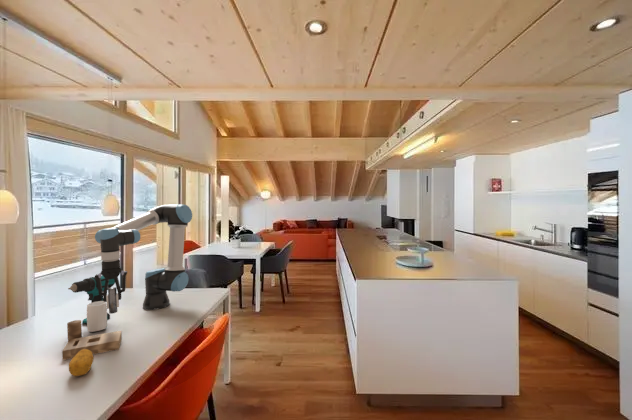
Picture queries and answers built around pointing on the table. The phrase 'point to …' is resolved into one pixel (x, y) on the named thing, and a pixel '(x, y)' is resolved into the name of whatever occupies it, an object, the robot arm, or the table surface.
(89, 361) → the potato
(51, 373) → the table surface
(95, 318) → the cup
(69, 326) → the walnut dowel
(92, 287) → the power drill
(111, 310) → the grey metal peg
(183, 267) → the robot arm
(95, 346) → the socket block
